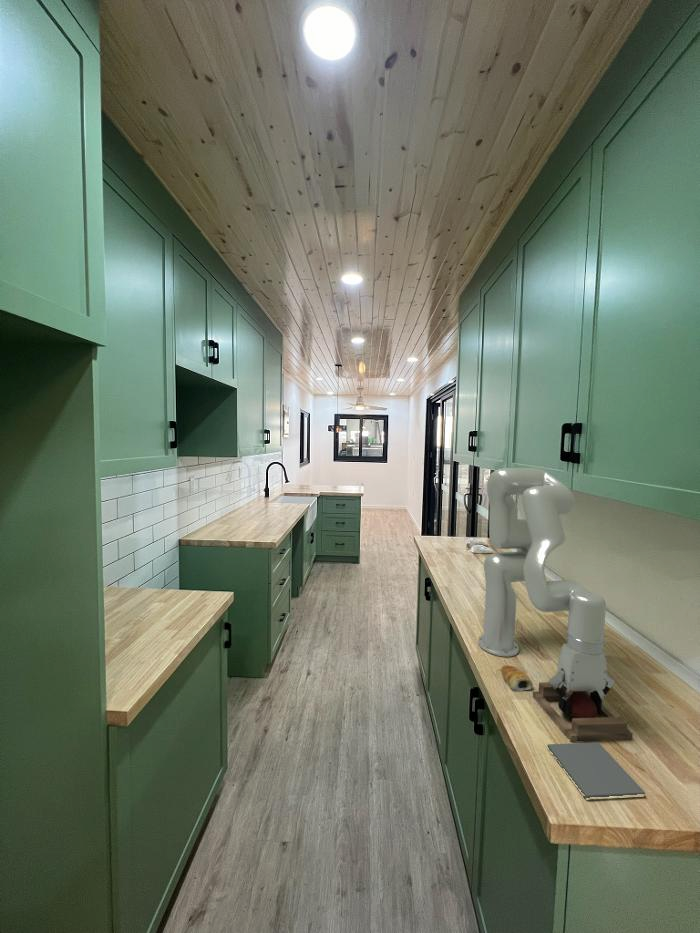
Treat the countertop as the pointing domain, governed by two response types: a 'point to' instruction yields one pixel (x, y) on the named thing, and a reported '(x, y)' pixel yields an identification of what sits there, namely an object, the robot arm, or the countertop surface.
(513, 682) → the pastry
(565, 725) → the holder
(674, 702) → the countertop surface
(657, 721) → the countertop surface
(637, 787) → the mat
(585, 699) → the potato
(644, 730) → the countertop surface
